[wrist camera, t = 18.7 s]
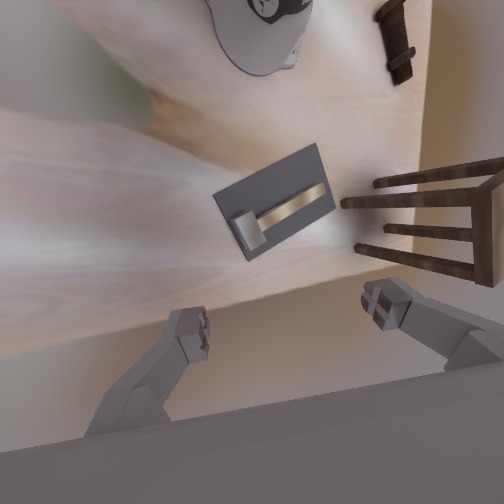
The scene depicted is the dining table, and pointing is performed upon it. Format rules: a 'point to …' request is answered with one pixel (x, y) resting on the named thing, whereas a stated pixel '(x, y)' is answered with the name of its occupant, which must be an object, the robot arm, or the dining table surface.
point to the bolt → (397, 39)
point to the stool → (481, 234)
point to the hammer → (271, 216)
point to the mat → (278, 196)
